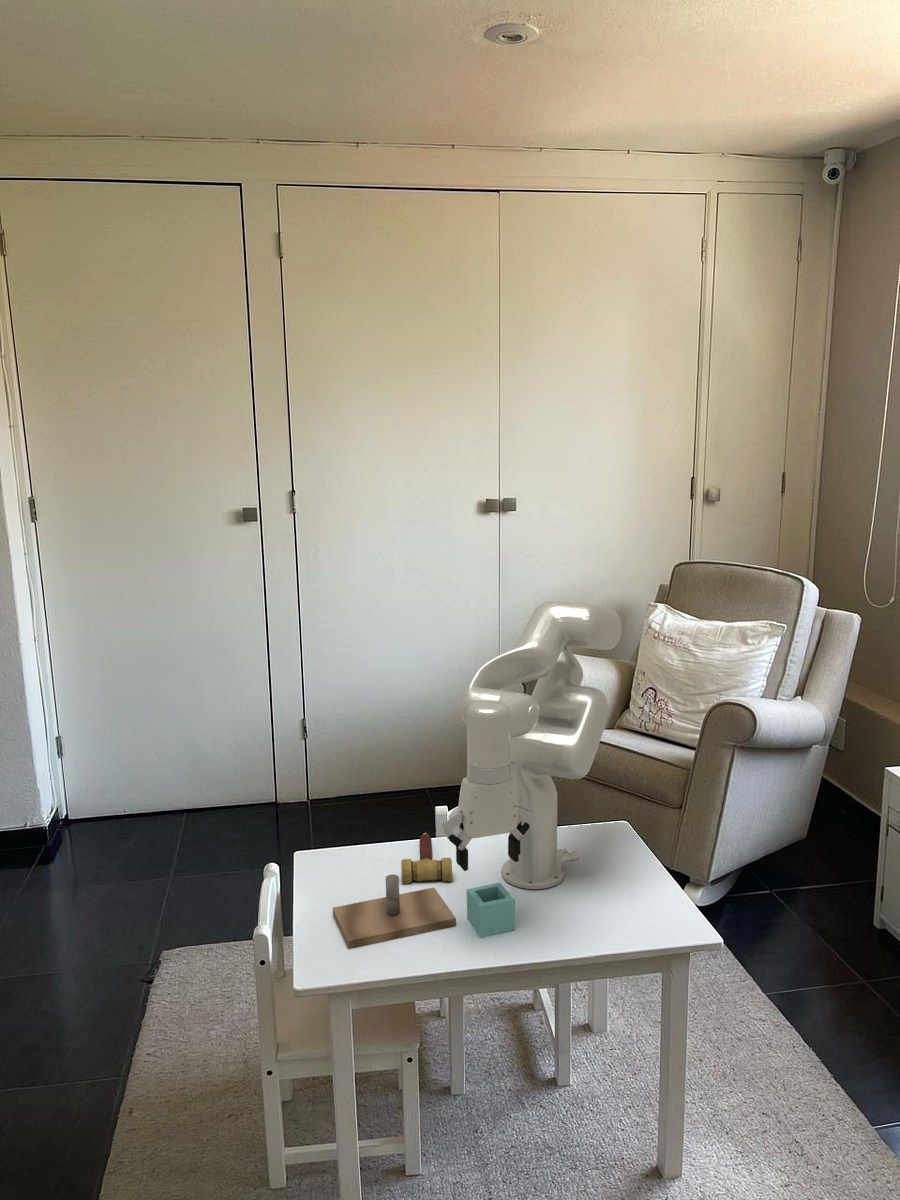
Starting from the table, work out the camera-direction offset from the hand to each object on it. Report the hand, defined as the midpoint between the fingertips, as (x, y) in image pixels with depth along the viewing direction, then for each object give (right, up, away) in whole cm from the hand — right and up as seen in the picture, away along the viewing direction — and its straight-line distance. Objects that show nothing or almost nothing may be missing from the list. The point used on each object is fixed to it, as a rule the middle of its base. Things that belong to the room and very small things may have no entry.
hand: (488, 863), depth 165 cm
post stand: (-17, -12, +5) cm, 22 cm away
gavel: (-12, -8, +28) cm, 32 cm away
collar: (0, -12, +3) cm, 12 cm away
